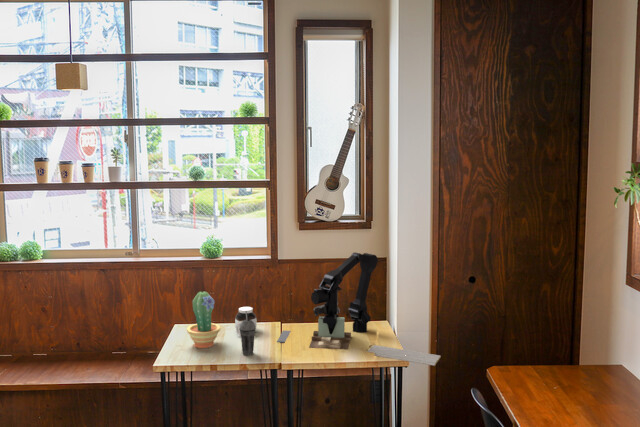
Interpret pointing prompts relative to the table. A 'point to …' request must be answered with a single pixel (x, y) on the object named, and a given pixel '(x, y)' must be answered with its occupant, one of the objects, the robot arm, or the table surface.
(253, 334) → the beverage cup
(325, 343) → the offcut stack
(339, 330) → the tall board
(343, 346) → the board rack
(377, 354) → the baseboard molding
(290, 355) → the table surface
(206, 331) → the potted cactus
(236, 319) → the spread jar
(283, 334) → the rubber mat
